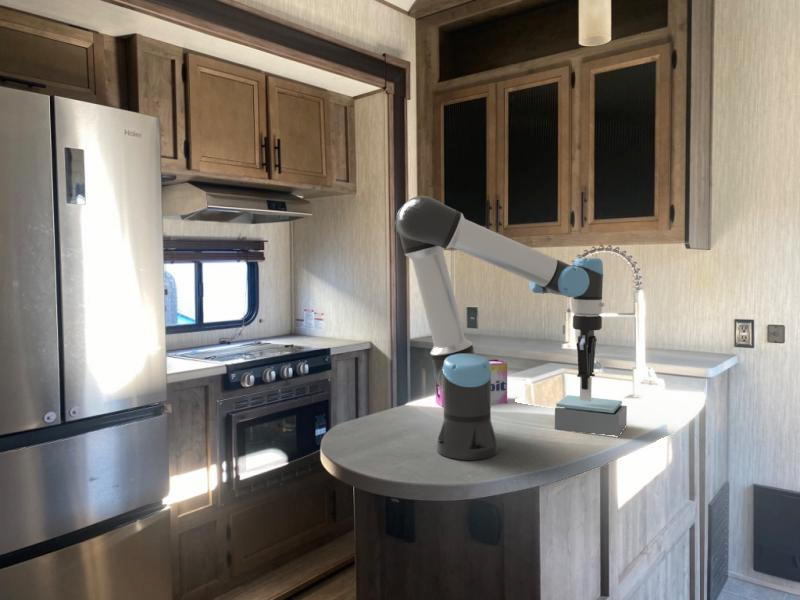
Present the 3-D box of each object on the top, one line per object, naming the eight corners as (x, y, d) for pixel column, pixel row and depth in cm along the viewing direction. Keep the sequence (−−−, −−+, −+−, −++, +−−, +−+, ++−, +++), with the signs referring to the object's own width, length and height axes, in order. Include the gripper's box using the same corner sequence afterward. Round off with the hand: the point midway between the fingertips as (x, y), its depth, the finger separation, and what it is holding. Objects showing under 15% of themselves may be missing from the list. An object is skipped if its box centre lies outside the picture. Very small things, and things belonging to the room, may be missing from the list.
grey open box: (618, 437, 159) (618, 415, 159) (554, 429, 168) (554, 408, 167) (626, 426, 169) (626, 405, 169) (565, 419, 178) (565, 399, 177)
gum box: (438, 408, 193) (437, 366, 192) (431, 402, 201) (431, 362, 200) (508, 403, 198) (508, 362, 197) (498, 398, 206) (498, 358, 205)
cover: (613, 413, 160) (613, 410, 159) (556, 406, 167) (556, 403, 167) (621, 403, 170) (621, 400, 170) (567, 397, 178) (567, 395, 177)
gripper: (596, 317, 156) (594, 407, 158) (606, 313, 168) (604, 397, 169) (567, 316, 160) (565, 403, 162) (579, 312, 171) (577, 394, 173)
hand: (585, 400), depth 166 cm, fingers closed
